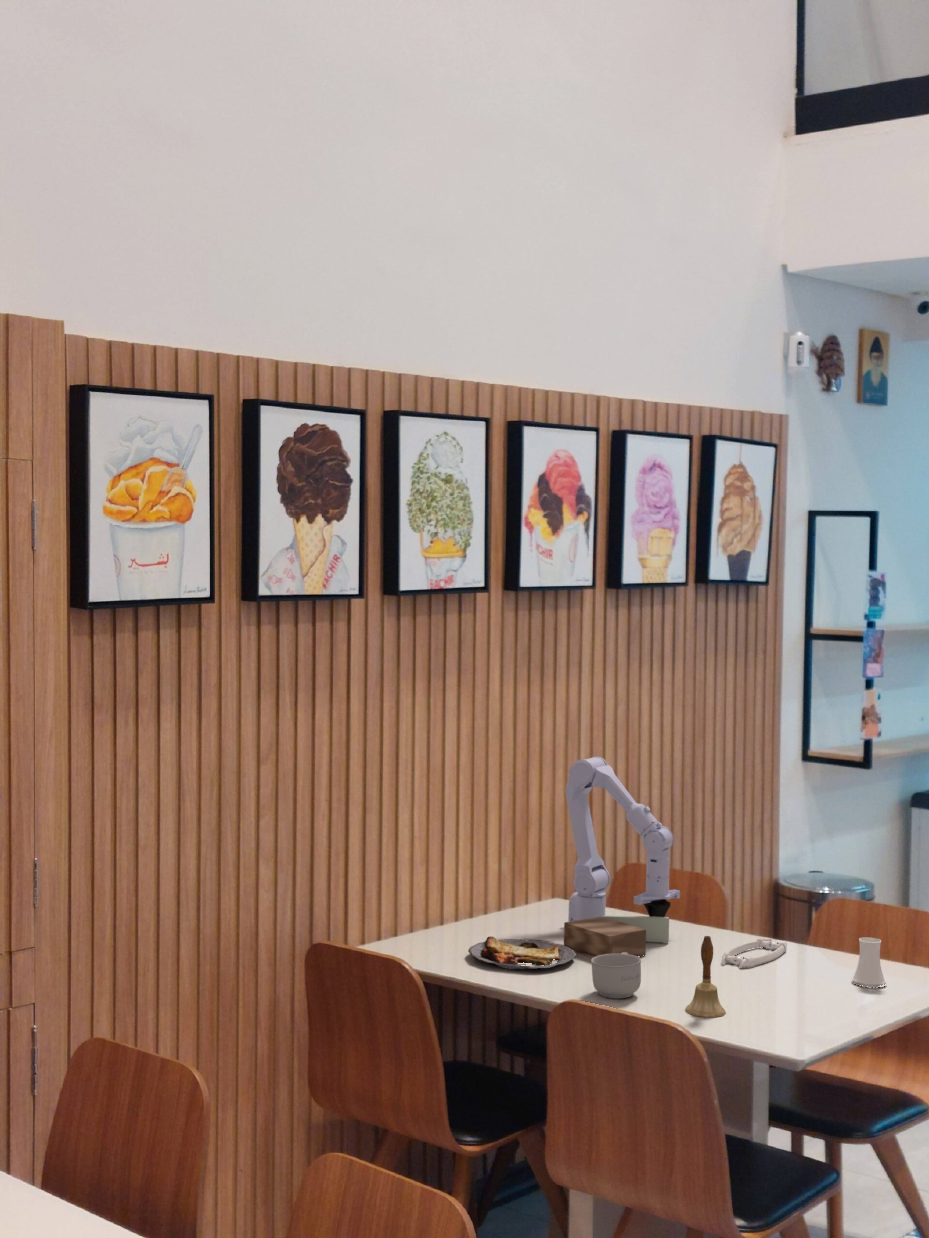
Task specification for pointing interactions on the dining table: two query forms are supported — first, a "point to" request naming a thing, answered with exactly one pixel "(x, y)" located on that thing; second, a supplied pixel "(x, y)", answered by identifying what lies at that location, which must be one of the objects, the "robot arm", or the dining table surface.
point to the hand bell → (706, 988)
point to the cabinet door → (647, 926)
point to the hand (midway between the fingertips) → (656, 929)
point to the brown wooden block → (604, 937)
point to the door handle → (751, 962)
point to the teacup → (616, 974)
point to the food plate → (521, 953)
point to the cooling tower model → (869, 964)
